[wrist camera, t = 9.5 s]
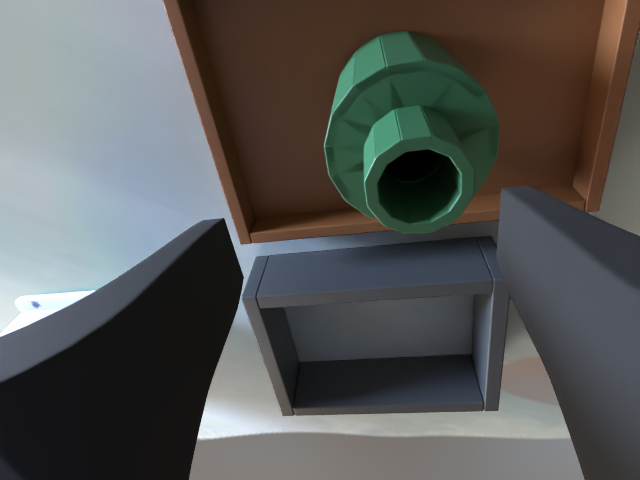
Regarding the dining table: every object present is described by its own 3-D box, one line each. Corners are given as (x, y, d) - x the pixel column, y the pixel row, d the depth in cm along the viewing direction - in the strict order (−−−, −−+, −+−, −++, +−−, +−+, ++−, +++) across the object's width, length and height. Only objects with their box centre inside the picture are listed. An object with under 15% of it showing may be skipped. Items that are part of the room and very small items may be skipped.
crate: (290, 370, 28) (282, 416, 26) (255, 256, 23) (240, 297, 20) (483, 362, 26) (498, 411, 24) (492, 235, 21) (512, 278, 18)
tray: (249, 224, 22) (240, 245, 21) (176, -21, 16) (155, -20, 15) (579, 190, 20) (599, 211, 18) (636, -117, 14) (674, -128, 12)
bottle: (344, 162, 19) (333, 276, 12) (327, 42, 17) (300, 100, 10) (458, 147, 18) (517, 261, 11) (460, 19, 16) (539, 65, 9)
